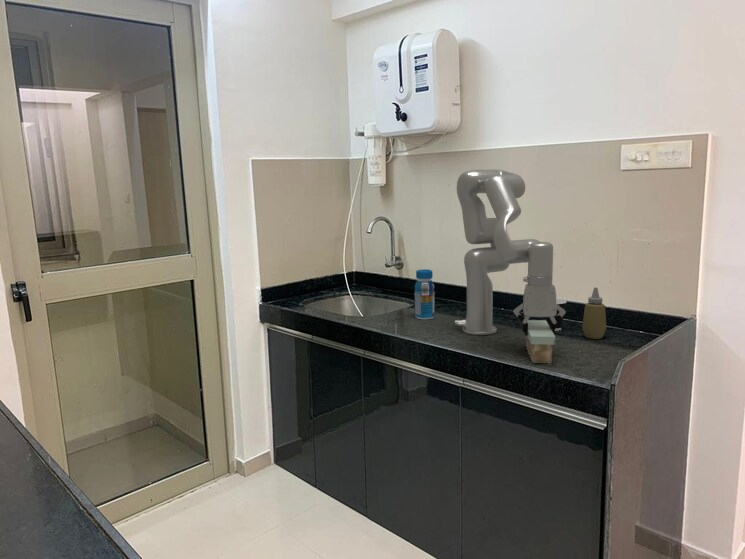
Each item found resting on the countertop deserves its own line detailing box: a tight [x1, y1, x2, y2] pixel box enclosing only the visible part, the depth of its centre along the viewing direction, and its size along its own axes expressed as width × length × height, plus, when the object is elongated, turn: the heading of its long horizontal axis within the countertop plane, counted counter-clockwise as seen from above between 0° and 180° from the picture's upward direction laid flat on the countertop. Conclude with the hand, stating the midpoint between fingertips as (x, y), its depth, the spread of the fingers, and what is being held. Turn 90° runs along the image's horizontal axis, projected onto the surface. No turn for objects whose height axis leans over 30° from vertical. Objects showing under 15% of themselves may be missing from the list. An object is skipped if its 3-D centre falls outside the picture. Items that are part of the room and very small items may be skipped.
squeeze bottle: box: [581, 287, 607, 340], centre depth 200 cm, size 8×8×18 cm
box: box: [525, 335, 553, 364], centre depth 183 cm, size 6×19×8 cm, turn 171°
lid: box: [527, 319, 556, 346], centre depth 182 cm, size 7×20×2 cm, turn 171°
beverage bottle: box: [414, 268, 436, 321], centre depth 235 cm, size 8×8×20 cm
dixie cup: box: [545, 298, 567, 332], centre depth 212 cm, size 8×8×11 cm
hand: (538, 334), depth 182 cm, fingers closed on lid, 7 cm apart
